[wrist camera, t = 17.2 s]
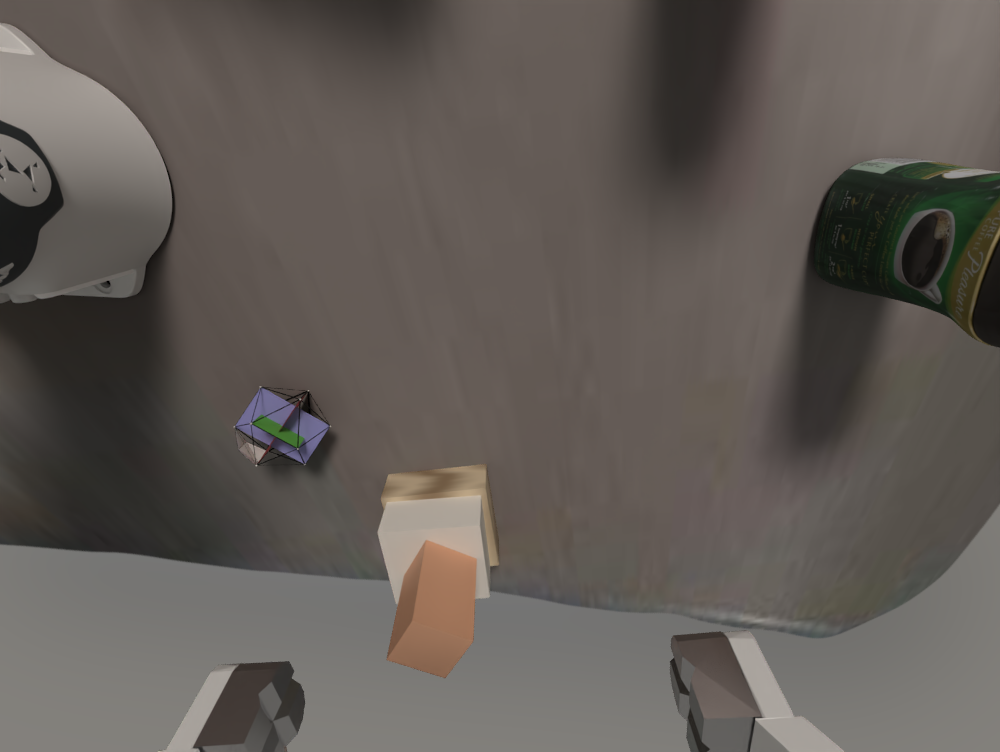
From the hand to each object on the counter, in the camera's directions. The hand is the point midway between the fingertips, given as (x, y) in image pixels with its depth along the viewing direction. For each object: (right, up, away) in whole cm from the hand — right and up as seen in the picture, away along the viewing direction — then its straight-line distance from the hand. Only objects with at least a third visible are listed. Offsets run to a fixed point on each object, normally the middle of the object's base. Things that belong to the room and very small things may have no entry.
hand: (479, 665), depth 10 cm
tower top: (-5, -9, +37) cm, 39 cm away
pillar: (-5, -11, +34) cm, 36 cm away
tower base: (-5, -8, +41) cm, 42 cm away
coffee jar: (+29, +19, +28) cm, 45 cm away
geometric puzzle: (-19, +3, +35) cm, 40 cm away
